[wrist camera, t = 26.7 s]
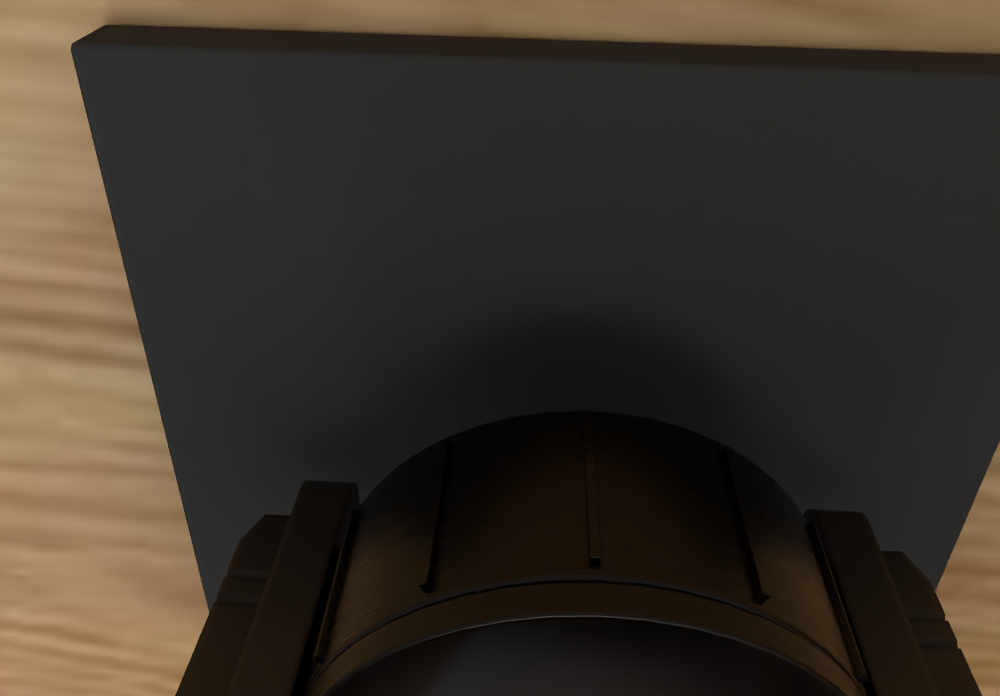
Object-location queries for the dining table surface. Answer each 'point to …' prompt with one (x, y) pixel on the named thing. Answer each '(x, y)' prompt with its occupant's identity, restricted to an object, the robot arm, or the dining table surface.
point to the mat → (556, 257)
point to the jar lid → (582, 572)
